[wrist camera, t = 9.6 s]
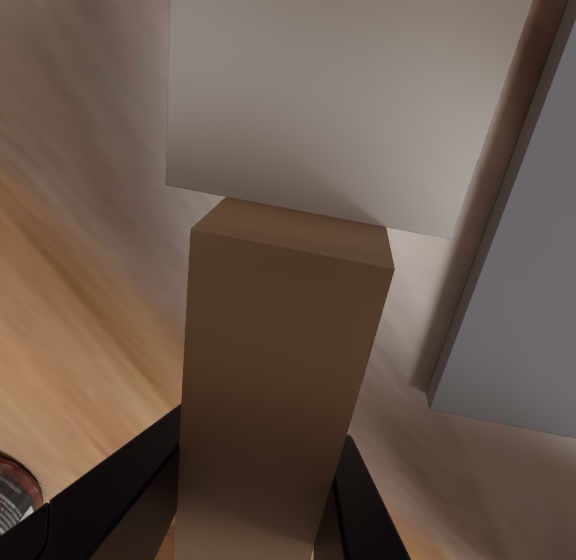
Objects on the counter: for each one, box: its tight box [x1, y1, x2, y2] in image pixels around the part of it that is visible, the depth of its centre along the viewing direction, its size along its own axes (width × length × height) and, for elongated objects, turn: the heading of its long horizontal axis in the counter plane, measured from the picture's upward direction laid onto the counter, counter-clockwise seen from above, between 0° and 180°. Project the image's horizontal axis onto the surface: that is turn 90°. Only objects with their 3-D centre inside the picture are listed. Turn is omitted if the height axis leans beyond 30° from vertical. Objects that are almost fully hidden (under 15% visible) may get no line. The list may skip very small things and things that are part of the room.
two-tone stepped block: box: [166, 0, 533, 560], centre depth 8 cm, size 17×5×3 cm, turn 171°
